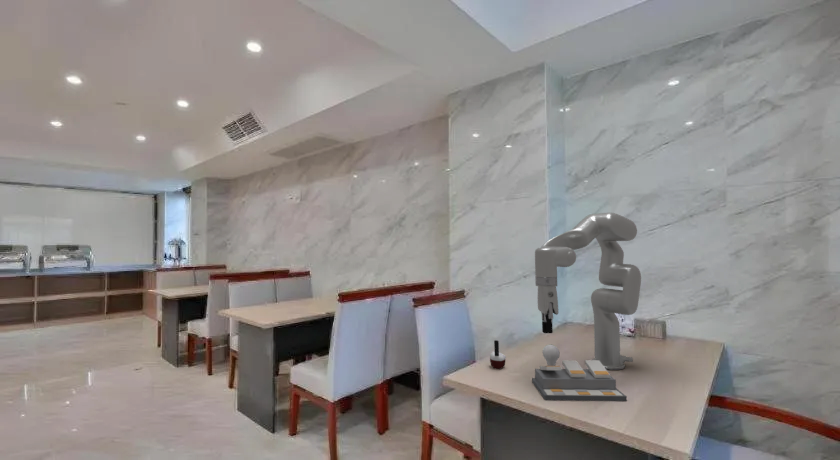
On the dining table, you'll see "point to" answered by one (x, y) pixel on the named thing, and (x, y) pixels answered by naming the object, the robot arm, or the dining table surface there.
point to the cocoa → (497, 357)
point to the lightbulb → (551, 354)
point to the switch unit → (575, 386)
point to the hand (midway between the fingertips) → (547, 332)
